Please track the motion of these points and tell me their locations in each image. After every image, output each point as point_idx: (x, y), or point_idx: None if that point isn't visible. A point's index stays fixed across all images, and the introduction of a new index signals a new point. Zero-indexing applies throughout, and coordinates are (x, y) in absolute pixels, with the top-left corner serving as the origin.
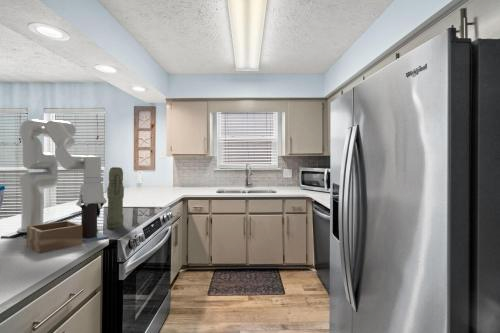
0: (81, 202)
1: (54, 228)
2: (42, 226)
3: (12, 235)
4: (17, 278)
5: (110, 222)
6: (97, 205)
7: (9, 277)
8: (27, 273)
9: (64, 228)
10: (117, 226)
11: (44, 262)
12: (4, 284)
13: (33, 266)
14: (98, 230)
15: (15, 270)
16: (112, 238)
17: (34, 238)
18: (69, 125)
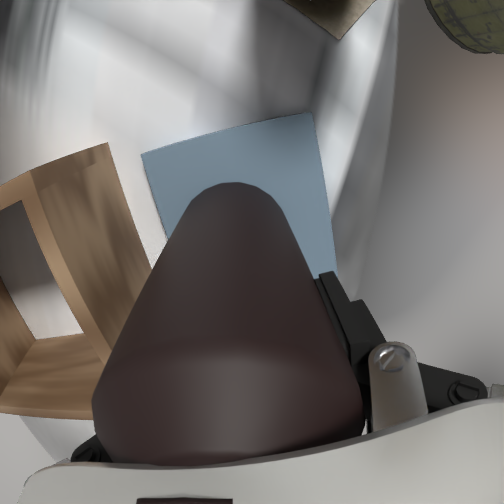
0: (59, 476)
1: None
2: None
3: None
4: (63, 457)
5: (462, 14)
6: (395, 398)
7: (47, 446)
8: (69, 451)
9: (67, 416)
10: (477, 49)
11: (78, 425)
12: (55, 461)
13: (63, 430)
14: (353, 16)
15: (38, 426)
16: (351, 298)
17: None
18: None
